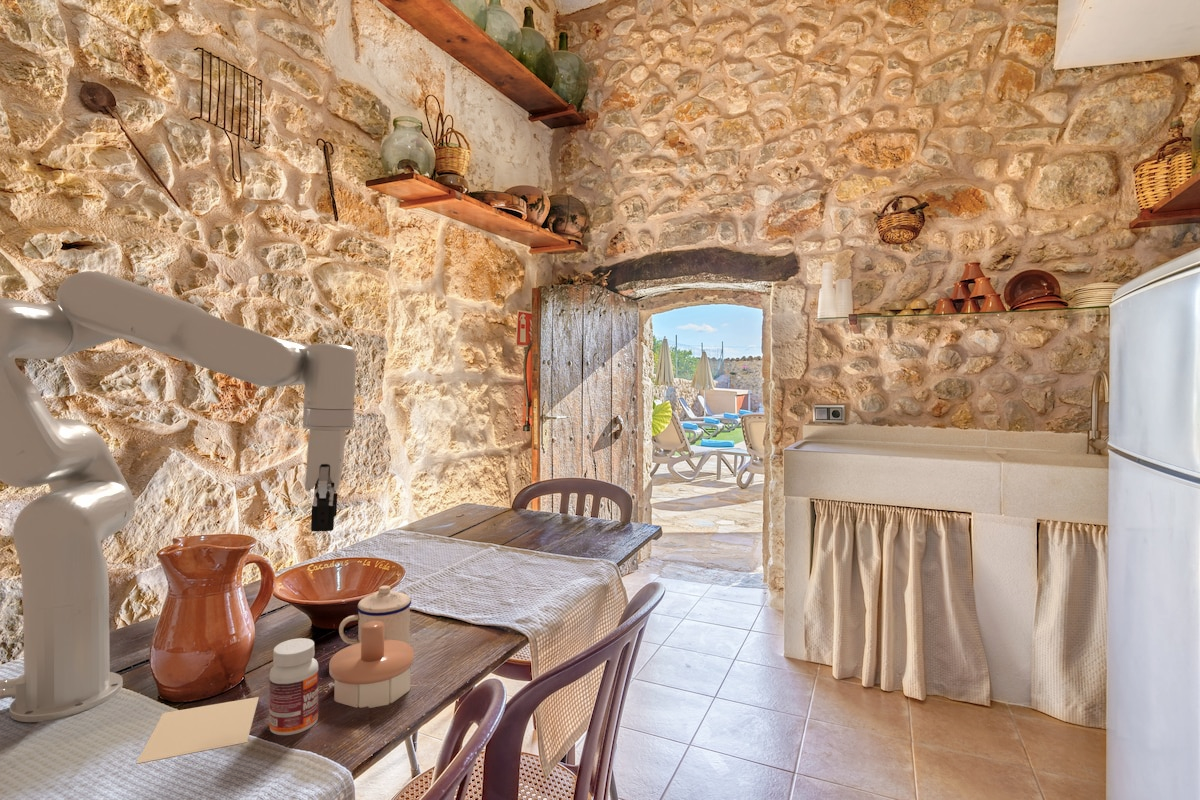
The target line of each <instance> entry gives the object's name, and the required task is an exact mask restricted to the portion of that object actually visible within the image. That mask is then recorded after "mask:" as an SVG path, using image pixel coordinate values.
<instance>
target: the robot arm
mask: <svg viewBox="0 0 1200 800" xmlns="http://www.w3.org/2000/svg"><path fill="white" fill-rule="evenodd" d="M56 291H57V292H56V300H54V301H52V302H47V303H43V304H41V303H36V302H30V301H26V300H20V299H15V298H9V297H1V296H0V482H2V483H3V484H5V485H7V486H9V487H13V488H19V489H20V488H22V489H25V488H26V489H27V488H35V487H40V486H44V485H48V486H49V488H50V489H51V492H48V493H45V494H43V495H41V496H39V497H37V498H35V499H33V500H32V501H30V502H29V503H28V504H27V505H25V507H24V508H23V509H21V511H20V513H19V514H18V515H17V517H16V519H15V522H14V525H13V532H12V533H13V537H12V538H13V543H14V547H15V551H16V553H17V558H18V562H19V566H20V573H21V574H20V575H21V588H22V592H21V593H22V607H23V608H22V610H23V612H22V613H23V615H22V617H23V621H22V622H23V623H22V624H23V626H22V627H23V674H20V675H19V676H18V677H17V678H4V679H0V700H3V699H8V698H11V699H12V700H13V699H14V700H13V701H12V702H11V703H10V705H9V711H8V712H9V717H10V718H11V719H12V720H15V721H16V722H17V721H18V722H21V723H22V722H23V723H39V722H46V721H52V720H57V719H61V718H65V717H69V716H73V715H76V714H79V713H82V712H85V711H88V710H90V709H93V708H95V707H98V706H99V705H102V704H104V703H106V702H107V701H108V700H110V699H112V698H113V697H115V696H117V694H119V692H121V690H122V689H123V686H124V684H123V683H124V682H123V679H124V678H123V676H122V675H120V674H119V673H118V672H114V671H113V672H112V671H110V667H111V665H110V663H111V662H110V661H111V660H110V659H111V658H110V655H111V654H110V652H111V651H110V589H109V588H110V587H109V585H110V583H109V568H108V563H107V560H106V557H105V554H104V551H103V548H102V541H103V540H106V539H107V538H109V537H111V536H113V535H115V534H116V533H118V532H120V531H122V530H123V529H124V528H125V527H126V526H128V524H129V523H130V521H131V520H132V518H133V516H134V512H135V499H134V496H133V494H132V491H131V488H130V486H129V484H128V482H127V481H126V479H125V476H124V475H123V473H122V471H121V470H120V467H119V466H118V463H117V461H116V460H115V457H114V456H113V454H112V452H111V450H110V448H109V446H108V445H107V443H106V441H105V440H104V439H103V437H102V435H100V434H99V433H98V432H97V431H96V430H95V429H94V428H93V427H92V426H91V425H89V424H87V423H85V422H82V421H81V420H77V419H74V418H73V419H72V418H55V417H54V416H53V415H52V413H51V412H50V410H49V409H48V407H47V405H46V404H45V403H46V402H44V400H43V398H42V396H41V393H40V391H39V390H38V388H37V387H36V386H35V384H34V383H33V382H32V380H30V379H29V377H28V376H27V375H26V374H24V372H23V371H21V369H20V368H19V366H18V365H17V364H16V359H25V360H26V359H29V360H51V359H57V358H62V357H63V358H64V357H66V356H70V355H73V354H76V353H78V352H81V351H84V350H88V349H91V348H93V347H96V346H100V345H103V344H105V343H109V342H112V341H115V340H118V339H121V340H124V341H125V342H126V341H127V342H130V343H133V344H135V345H139V346H142V347H145V348H148V349H151V350H153V351H156V352H160V353H163V354H166V355H168V356H170V357H171V356H172V357H173V358H176V359H177V360H181V361H186V362H188V363H190V364H191V363H192V364H194V365H196V366H200V367H202V368H204V369H207V370H210V371H213V372H216V373H219V374H222V375H225V376H229V377H231V378H234V379H237V380H241V381H243V382H247V383H249V384H253V385H256V386H261V387H266V388H273V387H289V386H291V387H292V386H303V385H304V389H303V390H304V391H303V393H304V394H303V395H304V396H303V412H302V413H303V414H302V415H303V416H302V429H305V430H309V433H308V440H307V453H306V454H307V455H306V471H305V472H306V473H305V485H304V490H305V491H306V492H310V491H311V490H314V494H313V503H312V505H311V515H310V516H311V518H310V519H311V521H310V530H311V532H313V533H314V532H332V531H333V530H334V526H335V525H334V524H335V517H336V516H337V513H338V512H337V506H338V493H337V491H338V490H339V488H340V485H341V479H342V475H343V474H342V473H343V467H344V456H345V445H346V444H345V443H346V442H345V441H346V431H349V430H353V429H354V417H355V415H354V414H355V392H356V391H355V390H356V371H357V370H356V369H357V353H356V351H355V349H354V348H353V347H351V346H349V345H345V344H338V343H313V344H307V343H299V342H295V341H291V340H286V339H282V338H279V337H273V336H271V335H268V334H265V333H261V332H259V331H255V330H253V329H250V328H246V327H244V326H241V325H239V324H235V323H234V322H231V321H228V320H224V319H222V318H221V317H220V318H219V317H217V316H215V315H212V314H210V313H208V312H207V311H206V310H204V308H202V307H200V306H198V305H196V304H194V303H191V302H189V301H185V300H181V299H180V298H176V297H173V296H171V295H168V294H166V293H162V292H159V291H156V290H154V289H151V288H148V287H145V286H142V285H140V284H136V282H135V283H134V282H133V281H130V280H128V279H124V278H122V277H119V276H118V277H117V276H115V275H111V274H108V273H105V272H100V271H80V272H77V273H74V274H71V275H69V276H68V277H66V278H65V279H64V280H63V281H62V282H61V283H60V284H59V286H58V289H57V290H56ZM120 689H121V690H120Z"/></svg>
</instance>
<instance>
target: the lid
mask: <svg viewBox="0 0 1200 800" xmlns="http://www.w3.org/2000/svg"><path fill="white" fill-rule="evenodd" d="M414 656H415V650H414V648H413V646H411V645H410V643H409V644H407V643H405V642H402V641H398V640H389V639H384V623H383V622H381V621H371V622H367V623H364V624H363V625H362V626H361V642H360V643H357V644H350V645H349V646H346V647H344V648H342V649H340V650H339V651H337V652H336V653H335V654H334V655H333V656H331V658H330V660H329V664H328V665H329V667H328V673H329V674H328V675H329V676H330V677H331V678H332V679H333V680H334V679H335V680H336V681H339V682H342V683H346V684H356V685H358V684H371V683H377V682H382V681H386V680H389V679H391V678H394V677H396V676H398V675H400V674H402V673H404V672H405V671H407V670H408V669H409V668H410V667H412V665H413V664H414V661H415V657H414Z"/></svg>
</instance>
